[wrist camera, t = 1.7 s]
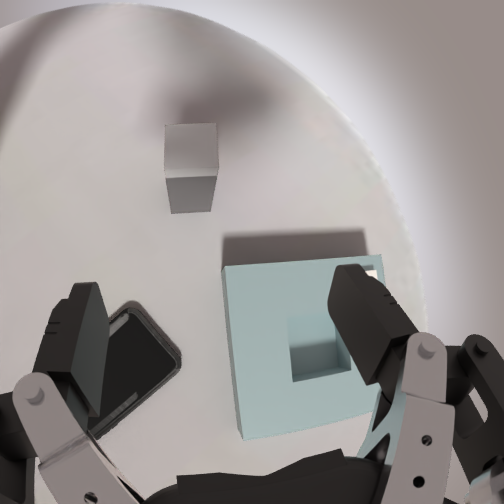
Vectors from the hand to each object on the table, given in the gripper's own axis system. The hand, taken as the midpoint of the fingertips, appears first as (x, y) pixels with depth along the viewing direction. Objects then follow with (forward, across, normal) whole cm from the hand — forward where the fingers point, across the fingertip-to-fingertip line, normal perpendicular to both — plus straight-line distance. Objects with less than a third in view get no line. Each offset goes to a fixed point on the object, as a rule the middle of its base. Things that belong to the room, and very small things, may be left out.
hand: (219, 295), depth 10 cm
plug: (+23, +1, +6) cm, 24 cm away
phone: (+10, +10, +19) cm, 24 cm away
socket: (+12, -10, +18) cm, 23 cm away
